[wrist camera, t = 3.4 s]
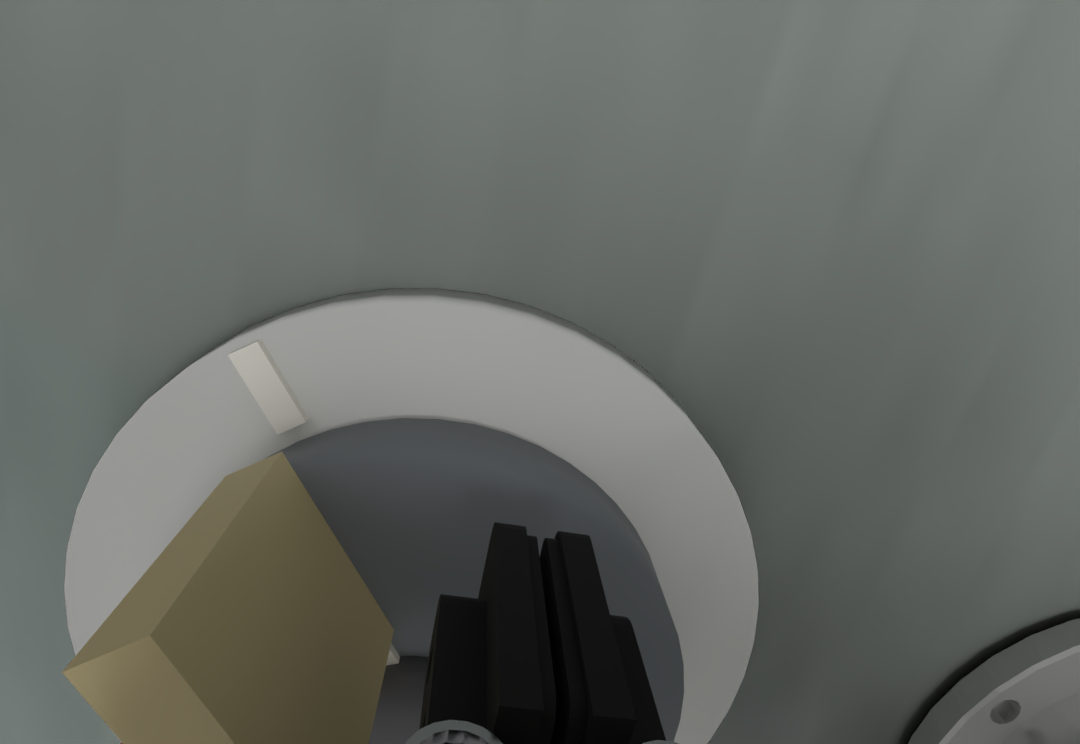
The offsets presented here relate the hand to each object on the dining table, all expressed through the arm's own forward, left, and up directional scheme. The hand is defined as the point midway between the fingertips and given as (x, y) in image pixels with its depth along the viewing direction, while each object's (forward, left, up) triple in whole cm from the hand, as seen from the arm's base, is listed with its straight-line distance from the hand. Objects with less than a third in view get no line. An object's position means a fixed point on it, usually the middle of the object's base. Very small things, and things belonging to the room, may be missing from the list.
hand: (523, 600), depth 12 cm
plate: (-1, +5, -6) cm, 7 cm away
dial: (-1, +5, -4) cm, 6 cm away
